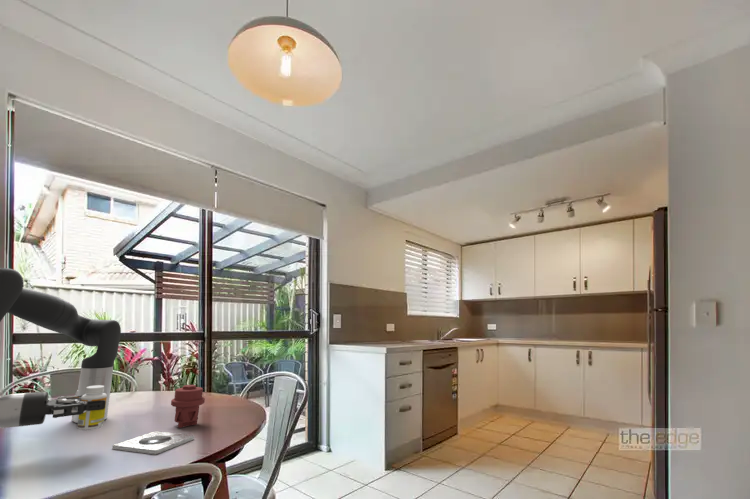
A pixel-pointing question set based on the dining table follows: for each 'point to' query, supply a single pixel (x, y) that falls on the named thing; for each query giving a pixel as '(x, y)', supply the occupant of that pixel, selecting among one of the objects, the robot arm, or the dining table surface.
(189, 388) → the mechanical component
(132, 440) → the seat plate
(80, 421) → the supplement bottle
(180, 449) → the dining table surface
